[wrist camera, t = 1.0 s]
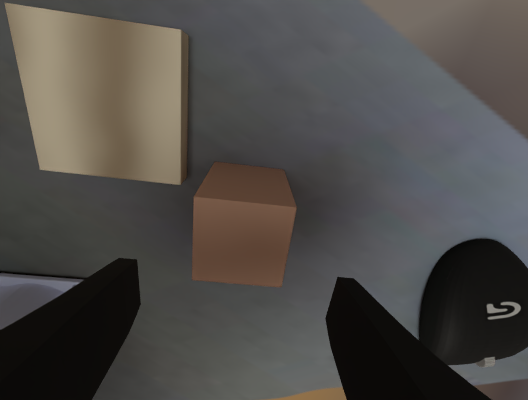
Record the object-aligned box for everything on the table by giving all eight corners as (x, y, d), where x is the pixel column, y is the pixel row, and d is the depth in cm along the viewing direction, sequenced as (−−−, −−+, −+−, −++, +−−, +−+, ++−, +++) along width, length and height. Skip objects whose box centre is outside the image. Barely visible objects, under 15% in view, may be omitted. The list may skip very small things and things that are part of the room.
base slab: (63, 161, 17) (40, 169, 15) (38, 14, 14) (4, 2, 12) (188, 175, 17) (180, 185, 16) (190, 37, 14) (180, 29, 12)
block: (211, 223, 18) (192, 280, 13) (214, 161, 17) (193, 196, 11) (274, 229, 19) (281, 287, 13) (283, 169, 17) (296, 207, 11)
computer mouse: (522, 228, 19) (584, 261, 16) (493, 339, 24) (536, 384, 20) (421, 244, 20) (459, 279, 16) (412, 350, 24) (439, 396, 21)
